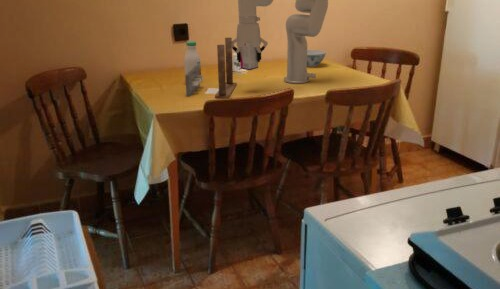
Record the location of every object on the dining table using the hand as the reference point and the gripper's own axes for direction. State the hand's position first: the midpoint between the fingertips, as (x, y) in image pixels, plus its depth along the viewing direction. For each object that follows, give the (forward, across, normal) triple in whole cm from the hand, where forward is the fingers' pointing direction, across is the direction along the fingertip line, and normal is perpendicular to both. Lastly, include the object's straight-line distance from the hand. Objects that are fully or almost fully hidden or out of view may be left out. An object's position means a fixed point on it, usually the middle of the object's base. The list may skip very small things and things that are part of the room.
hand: (249, 61), depth 196 cm
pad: (+14, +15, +1) cm, 20 cm away
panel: (+14, +25, +1) cm, 28 cm away
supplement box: (+3, 0, 0) cm, 3 cm away
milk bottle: (+14, +30, -16) cm, 37 cm away
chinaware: (+17, -28, -61) cm, 69 cm away
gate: (+13, +11, +1) cm, 17 cm away
